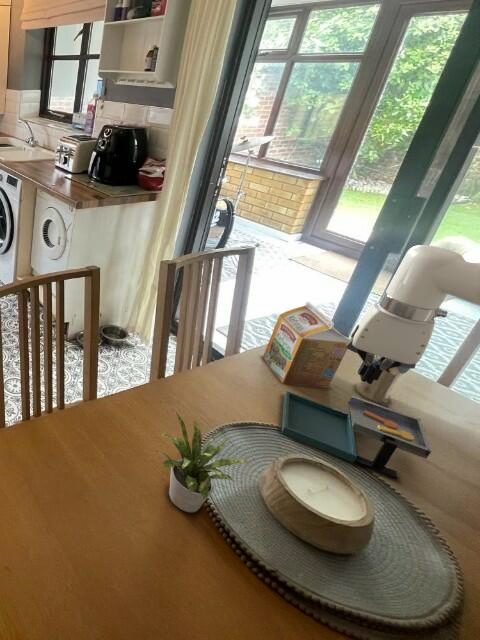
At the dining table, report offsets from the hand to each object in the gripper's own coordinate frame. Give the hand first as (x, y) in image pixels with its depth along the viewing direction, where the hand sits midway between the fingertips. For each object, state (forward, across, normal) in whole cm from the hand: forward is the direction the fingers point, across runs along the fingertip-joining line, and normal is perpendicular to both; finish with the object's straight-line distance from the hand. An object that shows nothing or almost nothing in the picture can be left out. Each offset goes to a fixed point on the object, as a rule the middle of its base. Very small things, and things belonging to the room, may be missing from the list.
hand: (365, 379), depth 88 cm
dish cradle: (+13, -5, +5) cm, 15 cm away
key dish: (+7, -5, +5) cm, 10 cm away
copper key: (+7, -4, +3) cm, 9 cm away
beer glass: (+13, -7, -17) cm, 23 cm away
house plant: (+14, +26, +42) cm, 51 cm away
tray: (+13, +4, +5) cm, 15 cm away
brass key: (+7, -6, +6) cm, 11 cm away
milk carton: (+13, +9, -15) cm, 22 cm away
